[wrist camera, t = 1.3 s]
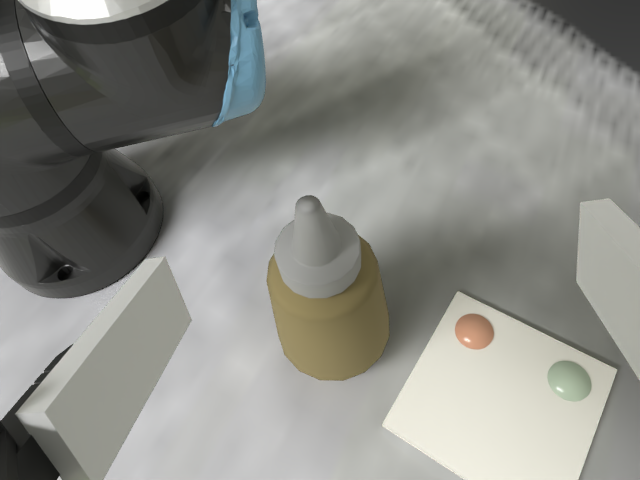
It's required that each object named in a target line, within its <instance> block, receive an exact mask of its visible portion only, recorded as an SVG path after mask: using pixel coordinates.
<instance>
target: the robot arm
mask: <svg viewBox="0 0 640 480" xmlns="http://www.w3.org/2000/svg"><path fill="white" fill-rule="evenodd" d="M265 87H266V72H265V58H264V48H263V39H262V32H261V27H260V23H259V20H258V9H257V0H0V267H1V268H2V270H3V271H4V272H5V273H6V274H7V275H8V276H9V277H10V278H11V279H13V280H14V281H15V282H17V283H18V284H20V285H21V286H22V287H24V288H25V289H27V290H28V291H30V292H32V293H34V294H37V295H40V296H43V297H48V298H72V297H78V296H82V295H86V294H89V293H92V292H95V291H97V290H100V289H102V288H104V287H106V286H108V285H110V284H112V283H114V282H115V281H117V280H118V279H120V278H121V277H123V276H124V275H125V274H127V273H128V272H129V271H130V270H132V269H133V268H134V267H135V266H136V265H137V264H138V263H139V262H140V261H141V260H142V259H143V257H144V256H145V255H146V254H147V252H148V251H149V250H150V248H151V247H152V245H153V243H154V242H155V240H156V238H157V235H158V233H159V230H160V228H161V224H162V219H163V204H162V199H161V196H160V194H159V192H158V190H157V188H156V187H155V185H154V184H153V182H152V181H151V179H150V177H149V176H148V175H147V173H146V172H145V171H144V170H143V169H142V168H141V167H140V166H139V165H137V164H136V163H134V162H133V161H132V160H130V159H129V158H127V157H126V156H124V155H123V154H122V153H120V152H119V151H117V150H116V149H115V148H119V147H124V146H128V145H132V144H137V143H141V142H146V141H150V140H154V139H159V138H163V137H167V136H172V135H176V134H181V133H185V132H189V131H194V130H198V129H202V128H207V127H216V126H218V125H220V124H221V123H222V122H224V121H227V120H230V119H234V118H237V117H240V116H243V115H246V114H249V113H251V112H253V111H254V110H256V109H257V108H258V107H259V106H260V104H261V102H262V100H263V98H264V94H265ZM576 282H577V284H578V285H579V287H580V288H581V290H582V291H583V293H584V295H585V296H586V298H587V299H588V301H589V302H590V304H591V305H592V307H593V309H594V310H595V312H596V313H597V315H598V316H599V318H600V320H601V321H602V323H603V324H604V326H605V327H606V329H607V331H608V332H609V334H610V335H611V337H612V338H613V340H614V341H615V343H616V345H617V346H618V348H619V349H620V351H621V352H622V354H623V356H624V357H625V359H626V360H627V362H628V363H629V365H630V367H631V368H632V370H633V371H634V373H635V374H636V376H637V377H638V379H639V381H640V227H639V226H638V225H637V224H636V223H635V222H634V221H633V220H632V219H630V218H629V217H628V216H627V215H626V214H625V213H624V212H623V211H622V210H621V209H620V208H619V207H618V206H617V205H616V204H615V203H614V202H613V201H612V200H611V199H610V198H607V199H600V200H592V201H584V202H580V218H579V237H578V256H577V275H576ZM191 321H192V319H191V317H190V314H189V312H188V310H187V307H186V305H185V303H184V300H183V298H182V295H181V293H180V291H179V288H178V286H177V283H176V281H175V279H174V276H173V274H172V271H171V269H170V267H169V264H168V262H167V260H166V257H158V258H150V259H145V260H144V261H143V262H142V263H141V265H140V266H139V267H138V268H137V269H136V271H135V272H134V273H133V274H132V275H131V277H130V278H129V279H128V280H127V281H126V283H125V284H124V285H123V286H122V287H121V288H120V290H119V291H118V292H117V293H116V294H115V296H114V297H113V298H112V299H111V300H110V302H109V303H108V304H107V305H106V306H105V307H104V309H103V310H102V311H101V312H100V313H99V315H98V316H97V317H96V318H95V319H94V321H93V322H92V323H91V324H90V325H89V327H88V328H87V329H86V330H85V331H84V332H83V334H82V335H81V336H80V337H79V338H78V340H77V341H76V342H75V343H74V344H72V345H71V346H69V347H68V348H67V349H65V350H64V351H63V352H62V353H60V354H59V355H58V356H56V357H55V359H54V360H53V361H52V362H51V363H50V364H49V366H48V367H47V368H46V369H45V370H44V373H42V374H41V375H40V376H39V377H38V378H37V379H36V381H35V382H34V383H35V384H34V385H31V386H30V388H29V389H28V390H27V391H26V392H25V393H24V395H23V396H22V397H21V398H20V399H19V400H18V402H17V403H16V404H15V405H14V406H13V407H12V409H11V410H10V411H9V412H8V413H7V414H6V416H5V417H4V418H3V419H2V420H1V421H0V480H57V478H58V477H59V476H60V477H61V479H62V480H103V479H104V477H105V475H106V474H107V472H108V470H109V468H110V466H111V465H112V463H113V461H114V459H115V457H116V456H117V454H118V452H119V450H120V448H121V447H122V445H123V443H124V441H125V439H126V438H127V436H128V434H129V432H130V430H131V429H132V427H133V425H134V423H135V421H136V420H137V418H138V416H139V414H140V412H141V411H142V409H143V407H144V405H145V403H146V402H147V400H148V398H149V396H150V394H151V393H152V391H153V389H154V387H155V385H156V384H157V382H158V380H159V378H160V376H161V375H162V373H163V371H164V369H165V367H166V366H167V364H168V362H169V360H170V358H171V357H172V355H173V353H174V351H175V349H176V348H177V346H178V344H179V342H180V340H181V339H182V337H183V335H184V333H185V331H186V330H187V328H188V326H189V324H190V322H191Z"/></svg>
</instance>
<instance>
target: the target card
mask: <svg viewBox="0 0 640 480" xmlns="http://www.w3.org/2000/svg"><path fill="white" fill-rule="evenodd" d="M616 373H617V369H615V368H613V367H611V366H609V365H607V364H605V363H603V362H601V361H599V360H597V359H595V358H593V357H591V356H589V355H587V354H585V353H583V352H581V351H579V350H577V349H575V348H573V347H570V346H568V345H566V344H564V343H562V342H560V341H558V340H556V339H554V338H552V337H550V336H548V335H546V334H544V333H542V332H540V331H538V330H536V329H534V328H532V327H530V326H528V325H526V324H524V323H522V322H520V321H518V320H516V319H514V318H512V317H510V316H508V315H506V314H504V313H501V312H499V311H497V310H495V309H493V308H491V307H489V306H487V305H485V304H483V303H481V302H479V301H477V300H475V299H473V298H471V297H469V296H467V295H465V294H463V293H461V292H459V291H457V293H456V294H455V296H454V298H453V300H452V301H451V303H450V305H449V307H448V308H447V310H446V312H445V314H444V316H443V317H442V319H441V321H440V323H439V324H438V326H437V328H436V330H435V332H434V333H433V335H432V337H431V339H430V340H429V342H428V344H427V346H426V347H425V349H424V351H423V353H422V355H421V356H420V358H419V360H418V362H417V363H416V365H415V367H414V369H413V371H412V372H411V374H410V376H409V378H408V379H407V381H406V383H405V385H404V387H403V388H402V390H401V392H400V394H399V395H398V397H397V399H396V401H395V402H394V404H393V406H392V408H391V410H390V411H389V413H388V415H387V417H386V418H385V420H384V422H383V424H382V426H383V427H384V428H386V429H387V430H389V431H390V432H392V433H393V434H395V435H396V436H398V437H399V438H401V439H403V440H404V441H406V442H407V443H409V444H410V445H412V446H413V447H415V448H416V449H418V450H419V451H421V452H423V453H424V454H426V455H427V456H429V457H430V458H432V459H433V460H435V461H436V462H438V463H439V464H441V465H443V466H444V467H446V468H447V469H449V470H450V471H452V472H453V473H455V474H456V475H458V476H459V477H461V478H463V479H464V480H578V479H579V476H580V474H581V471H582V468H583V465H584V462H585V459H586V457H587V454H588V451H589V448H590V445H591V443H592V440H593V437H594V434H595V431H596V429H597V426H598V423H599V420H600V417H601V415H602V412H603V409H604V406H605V403H606V401H607V398H608V395H609V392H610V389H611V387H612V384H613V381H614V378H615V375H616Z"/></svg>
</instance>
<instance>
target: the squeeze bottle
mask: <svg viewBox="0 0 640 480" xmlns="http://www.w3.org/2000/svg"><path fill="white" fill-rule="evenodd" d="M267 285H268V290H269V294H270V299H271V304H272V308H273V313H274V318H275V322H276V327H277V331H278V336H279V339H280V342H281V345H282V348H283V351H284V354H285V356H286V357H287V358H288V359H289V360H290V361H291V362H292V363H293V365H294V366H295V367H296V368H297V369H298V370H299V371H301V372H303V373H305V374H307V375H310V376H312V377H314V378H316V379H319V380H342V381H343V380H346V379H348V378H351V377H353V376H356V375H359V374H361V373H364V372H365V371H367V370H368V369H369V368H370V367H371V366H372V365H373V364H374V363H375V362H376V361H377V360H378V359H379V358H380V357H381V356H382V353H383V351H384V348H385V346H386V343H387V341H388V339H389V336H390V333H389V313H388V308H387V304H386V299H385V294H384V289H383V285H382V280H381V275H380V270H379V266H378V261H377V259H376V257H375V255H374V253H373V251H372V249H371V247H370V245H369V243H367V242H366V241H365V240H364V239H363V238H361V237H360V236H359V235H358V234H357V232H356V230H355V228H354V227H353V226H352V225H351V224H350V223H349V222H347V221H346V220H345V219H344V218H342V217H340V216H336V215H333V214H330V213H326V211H325V210H324V208H323V206H322V204H321V203H320V201H319V199H317V198H316V197H314V196H311V195H310V196H304V197H301V198H300V199H299V200H298V201H297V203H296V208H295V219H294V220H293V221H292V222H291V223H289V224H288V225H287V226H285V227H284V228H283V230H282V231H281V233H280V235H279V236H278V238H277V240H276V242H275V250H274V254H273V256H272V258H271V259H270V261H269V266H268V274H267Z"/></svg>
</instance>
